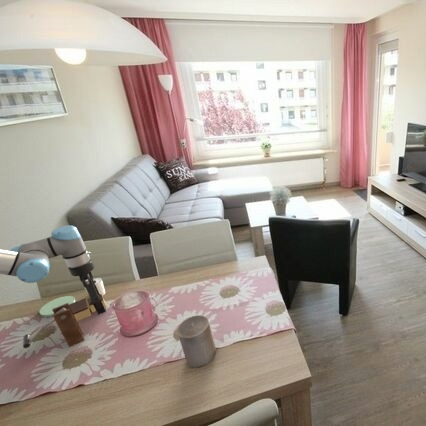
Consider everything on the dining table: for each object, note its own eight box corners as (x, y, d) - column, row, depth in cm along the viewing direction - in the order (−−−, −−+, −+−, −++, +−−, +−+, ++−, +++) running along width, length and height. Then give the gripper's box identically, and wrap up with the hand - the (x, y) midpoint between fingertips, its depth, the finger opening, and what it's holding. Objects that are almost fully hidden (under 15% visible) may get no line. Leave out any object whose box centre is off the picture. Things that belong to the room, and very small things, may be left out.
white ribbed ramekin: (96, 301, 130) (90, 288, 127) (85, 298, 132) (79, 285, 129) (110, 291, 135) (105, 279, 133) (99, 288, 138) (94, 276, 135)
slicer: (27, 349, 96) (20, 346, 95) (27, 340, 100) (20, 336, 99) (70, 315, 102) (64, 312, 101) (68, 308, 106) (63, 304, 104)
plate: (40, 321, 119) (39, 319, 119) (40, 306, 128) (39, 305, 127) (77, 306, 127) (76, 304, 126) (74, 294, 135) (73, 292, 134)
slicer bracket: (61, 357, 103) (42, 322, 96) (59, 343, 108) (41, 310, 102) (95, 340, 109) (79, 307, 102) (92, 329, 114) (77, 297, 108)
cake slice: (93, 314, 122) (88, 304, 119) (91, 308, 125) (87, 299, 123) (107, 308, 125) (103, 299, 122) (105, 303, 128) (101, 293, 126)
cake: (68, 327, 115) (62, 317, 113) (66, 317, 121) (61, 307, 119) (92, 317, 120) (87, 307, 118) (89, 307, 126) (85, 298, 124)
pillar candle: (203, 340, 107) (194, 308, 101) (222, 350, 102) (214, 318, 96) (180, 360, 99) (169, 327, 93) (199, 373, 94) (189, 338, 88)
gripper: (95, 271, 109) (115, 315, 118) (87, 248, 126) (104, 287, 135) (70, 280, 105) (93, 325, 113) (65, 255, 122) (84, 295, 130)
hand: (99, 305), depth 124 cm, fingers open, 13 cm apart
